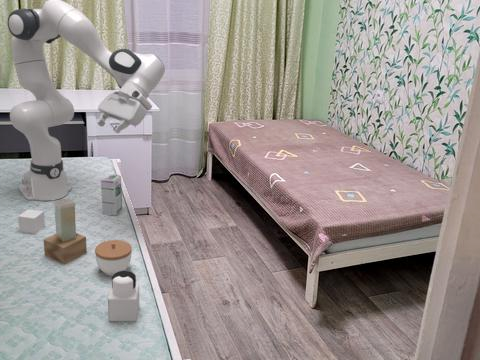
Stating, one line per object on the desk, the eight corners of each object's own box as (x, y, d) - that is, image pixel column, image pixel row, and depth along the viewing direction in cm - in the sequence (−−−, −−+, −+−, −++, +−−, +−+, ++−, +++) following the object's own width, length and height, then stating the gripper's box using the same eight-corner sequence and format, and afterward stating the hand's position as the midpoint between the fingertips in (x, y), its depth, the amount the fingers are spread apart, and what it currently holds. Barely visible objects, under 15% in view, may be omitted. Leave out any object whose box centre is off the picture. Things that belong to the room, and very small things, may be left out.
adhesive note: (35, 234, 168) (34, 218, 166) (19, 232, 169) (18, 216, 167) (45, 226, 174) (43, 211, 172) (29, 224, 175) (27, 209, 173)
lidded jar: (100, 283, 144) (99, 254, 140) (92, 265, 152) (91, 238, 149) (136, 275, 148) (135, 248, 145) (126, 259, 157) (126, 232, 154)
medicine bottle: (113, 305, 134) (111, 267, 130) (139, 305, 135) (139, 267, 130) (108, 321, 127) (107, 282, 123) (136, 322, 128) (136, 282, 124)
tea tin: (55, 236, 155) (53, 201, 151) (70, 233, 159) (68, 198, 154) (61, 242, 152) (60, 206, 148) (76, 239, 155) (75, 203, 151)
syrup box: (116, 216, 186) (115, 180, 180) (101, 213, 187) (100, 178, 181) (122, 210, 191) (121, 175, 186) (108, 208, 192) (107, 173, 187)
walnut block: (44, 256, 156) (43, 239, 154) (67, 245, 163) (66, 229, 161) (64, 265, 152) (63, 248, 150) (86, 253, 159) (85, 236, 157)
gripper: (108, 84, 169) (84, 116, 166) (144, 95, 157) (119, 129, 153) (119, 96, 174) (96, 127, 171) (155, 107, 161) (131, 141, 158)
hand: (107, 128), depth 162 cm, fingers open, 8 cm apart
